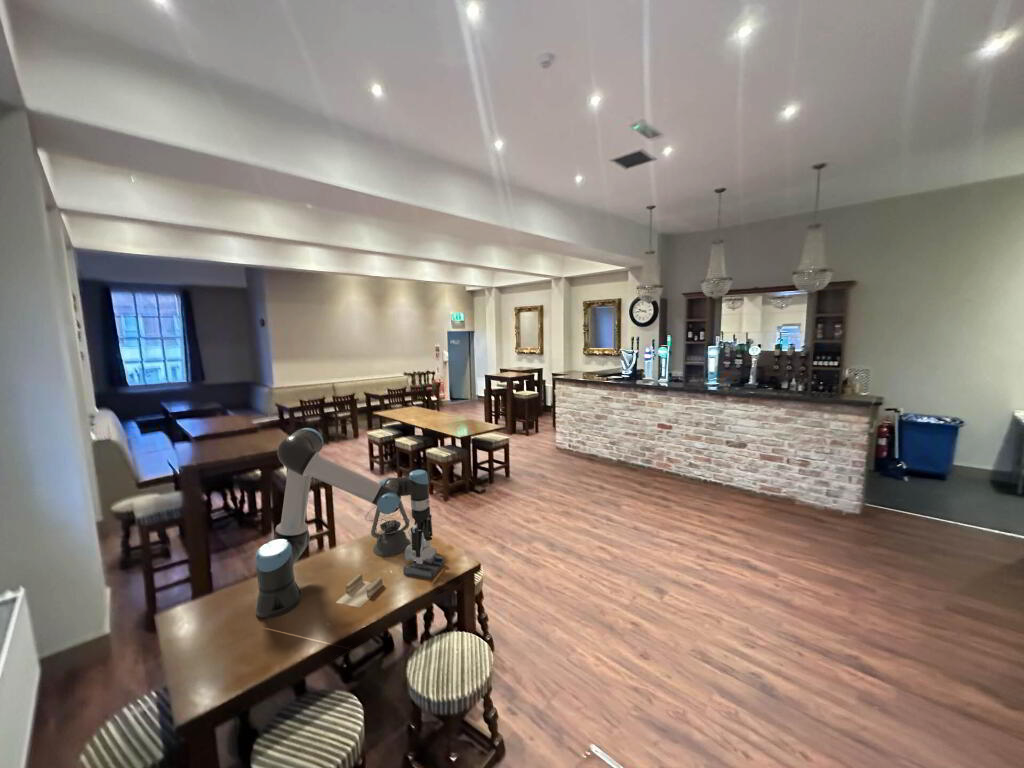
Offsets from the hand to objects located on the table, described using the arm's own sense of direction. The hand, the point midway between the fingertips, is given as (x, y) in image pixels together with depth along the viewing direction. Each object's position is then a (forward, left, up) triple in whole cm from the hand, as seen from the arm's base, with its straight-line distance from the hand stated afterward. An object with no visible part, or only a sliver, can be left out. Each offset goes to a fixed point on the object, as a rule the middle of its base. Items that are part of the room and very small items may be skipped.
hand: (423, 558), depth 172 cm
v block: (0, 0, -5) cm, 5 cm away
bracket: (-17, -21, -5) cm, 27 cm away
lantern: (-26, +14, -5) cm, 30 cm away
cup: (-9, +12, -5) cm, 16 cm away
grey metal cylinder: (-1, 0, -1) cm, 2 cm away
